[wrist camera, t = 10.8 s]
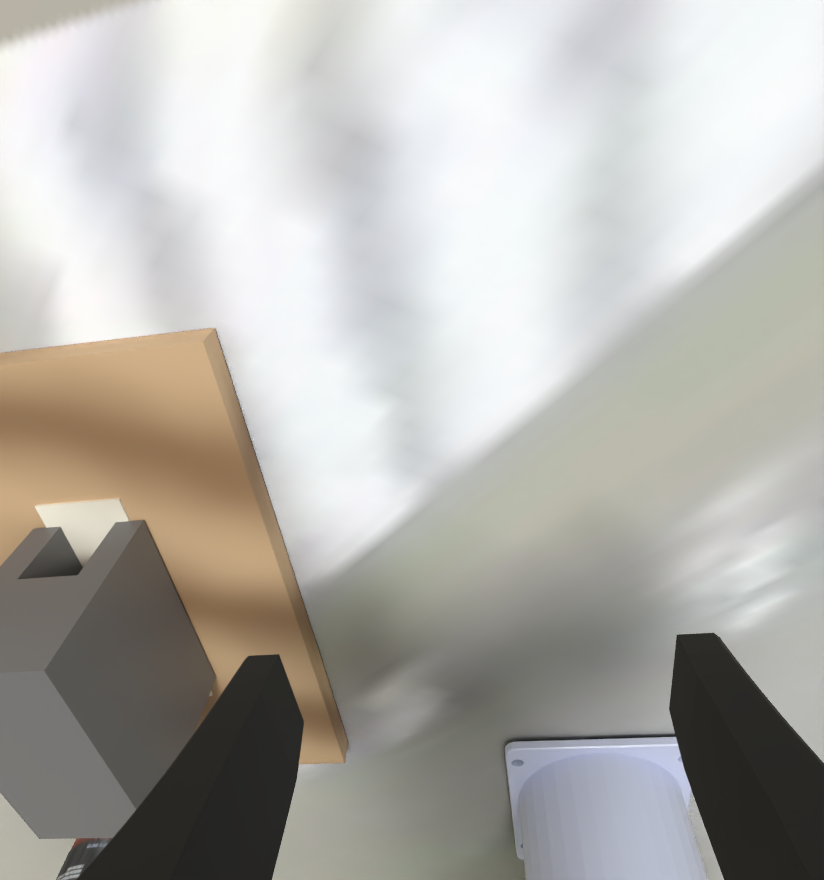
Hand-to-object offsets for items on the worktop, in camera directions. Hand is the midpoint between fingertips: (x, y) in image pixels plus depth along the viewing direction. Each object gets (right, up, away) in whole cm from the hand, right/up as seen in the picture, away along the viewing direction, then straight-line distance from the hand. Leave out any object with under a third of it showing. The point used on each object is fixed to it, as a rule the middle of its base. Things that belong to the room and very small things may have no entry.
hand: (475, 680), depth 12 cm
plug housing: (-11, -2, +12) cm, 17 cm away
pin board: (-11, -1, +13) cm, 17 cm away
